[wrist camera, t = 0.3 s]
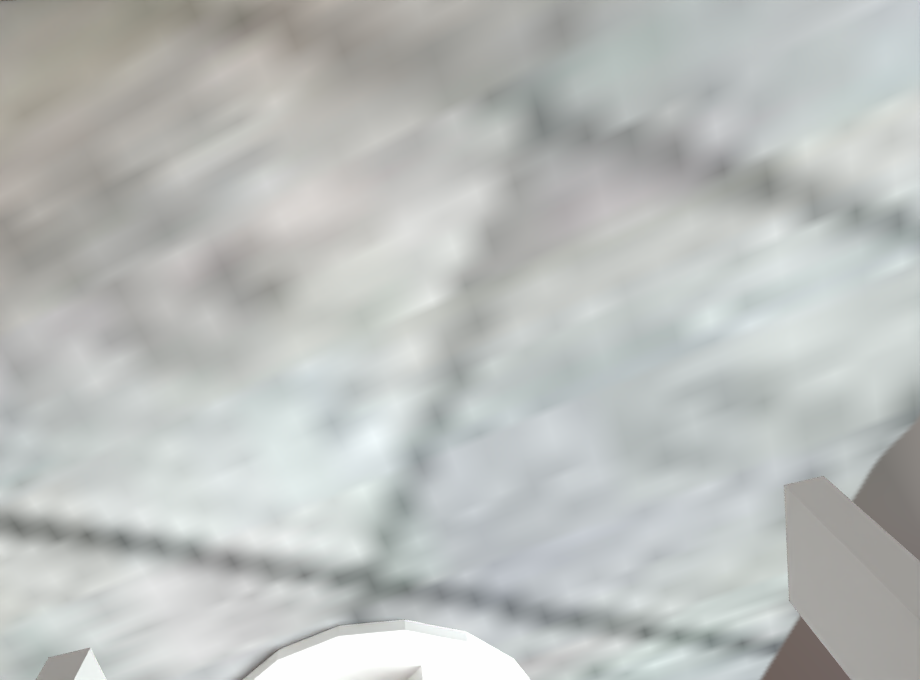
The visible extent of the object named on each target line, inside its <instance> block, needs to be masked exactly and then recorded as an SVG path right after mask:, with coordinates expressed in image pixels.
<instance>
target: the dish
mask: <svg viewBox="0 0 920 680" xmlns="http://www.w3.org/2000/svg"><path fill="white" fill-rule="evenodd" d="M243 680H530V679H529V677H528V676H527V675H526V674H525V672H524V671H523V670H522V668H521V667H520V666H519V665H518V663H517V662H516V661H515V659H513V658H512V657H510V656H508V655H506V654H505V653H503V652H501V651H499V650H498V649H496V648H494V647H492V646H491V645H489V644H487V643H485V642H484V641H482V640H480V639H478V638H477V637H475V636H473V635H471V634H470V633H468V632H466V631H461V630H456V629H451V628H446V627H441V626H436V625H431V624H426V623H420V622H415V621H410V620H405V619H404V620H393V621H382V622H372V623H361V624H350V625H340V626H337V627H334V628H332V629H329V630H327V631H324V632H322V633H319V634H317V635H314V636H311V637H309V638H306V639H304V640H301V641H299V642H296V643H294V644H291V645H289V646H286V647H284V648H281V649H279V650H278V651H277V652H275V653H274V654H273V655H272V656H270V657H269V658H268V659H267V660H266V661H264V662H263V663H262V664H261V665H260V666H258V667H257V668H256V669H255V670H254V671H252V672H251V673H250V674H249V675H247V676H246V677H245V678H244V679H243Z"/></svg>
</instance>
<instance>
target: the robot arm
mask: <svg viewBox="0 0 920 680" xmlns="http://www.w3.org/2000/svg"><path fill="white" fill-rule="evenodd" d="M784 494H785V517H786V541H787V564H788V588H789V601H790V603H791V604H792V605H793V607H794V608H795V609H796V610H797V612H798V613H799V614H800V615H801V617H802V618H803V619H804V620H805V622H806V623H807V624H808V626H809V627H810V628H811V629H812V631H813V632H814V633H815V634H816V636H817V637H818V638H819V640H820V641H821V642H822V643H823V645H824V646H825V647H826V648H827V650H828V651H829V652H830V653H831V655H832V656H833V657H834V659H835V660H836V661H837V662H838V664H839V665H840V666H841V667H842V669H843V670H844V671H845V673H846V674H847V675H848V676H849V677H850V679H851V680H920V561H919V560H918V559H916V558H915V557H914V556H913V555H912V554H911V553H910V552H909V551H907V550H906V549H905V548H904V547H903V546H902V545H901V544H900V543H898V542H897V541H896V540H895V539H894V538H893V537H892V536H890V535H889V534H888V533H887V532H886V531H885V530H884V529H883V528H882V527H880V526H879V525H878V524H877V523H876V522H875V521H874V520H873V519H871V518H870V517H869V516H868V515H867V514H866V513H865V512H864V511H862V510H861V509H860V508H859V507H858V506H857V505H855V503H853V502H852V501H851V500H850V499H849V498H848V497H847V496H846V495H844V494H843V493H842V492H841V491H840V490H839V489H838V488H836V487H835V486H834V485H833V484H832V483H831V482H830V481H829V480H827V479H826V478H825V477H824V476H821V477H817V478H812V479H808V480H804V481H799V482H795V483H791V484H787V485H784ZM36 680H106V678H105V676H104V674H103V672H102V670H101V668H100V666H99V664H98V662H97V660H96V658H95V656H94V654H93V652H92V650H91V648H87V649H83V650H78V651H74V652H70V653H66V654H61V655H57V656H53V657H49V658H48V660H47V661H46V663H45V665H44V667H43V668H42V670H41V672H40V673H39V675H38V677H37V679H36Z"/></svg>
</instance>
